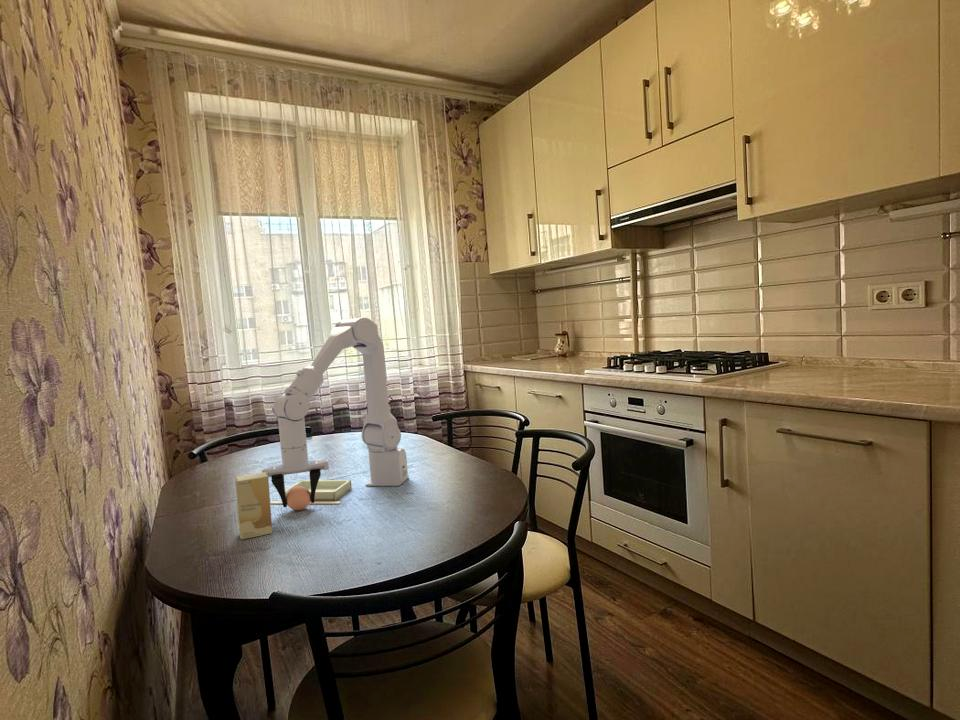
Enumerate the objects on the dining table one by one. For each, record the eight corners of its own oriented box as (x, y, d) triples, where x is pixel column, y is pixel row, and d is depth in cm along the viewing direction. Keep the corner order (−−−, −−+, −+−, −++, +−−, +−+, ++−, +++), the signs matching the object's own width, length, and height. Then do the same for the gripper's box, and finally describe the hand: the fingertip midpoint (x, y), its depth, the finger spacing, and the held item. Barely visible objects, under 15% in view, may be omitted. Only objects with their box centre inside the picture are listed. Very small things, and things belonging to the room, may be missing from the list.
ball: (316, 505, 129) (314, 482, 129) (304, 514, 124) (302, 490, 124) (294, 505, 130) (292, 483, 130) (282, 513, 125) (280, 490, 125)
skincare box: (240, 540, 111) (234, 481, 110) (239, 533, 114) (233, 476, 113) (274, 533, 113) (268, 475, 113) (271, 526, 117) (266, 470, 116)
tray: (351, 488, 141) (350, 480, 141) (335, 500, 132) (334, 492, 132) (301, 488, 144) (301, 480, 144) (282, 500, 135) (281, 492, 134)
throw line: (340, 502, 130) (340, 501, 130) (338, 504, 129) (338, 502, 129) (272, 502, 134) (271, 501, 134) (269, 504, 133) (269, 502, 133)
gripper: (325, 438, 132) (330, 493, 133) (261, 446, 128) (267, 503, 129) (326, 444, 125) (331, 502, 126) (259, 453, 121) (264, 513, 122)
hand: (299, 503), depth 127 cm, fingers closed on ball, 5 cm apart
